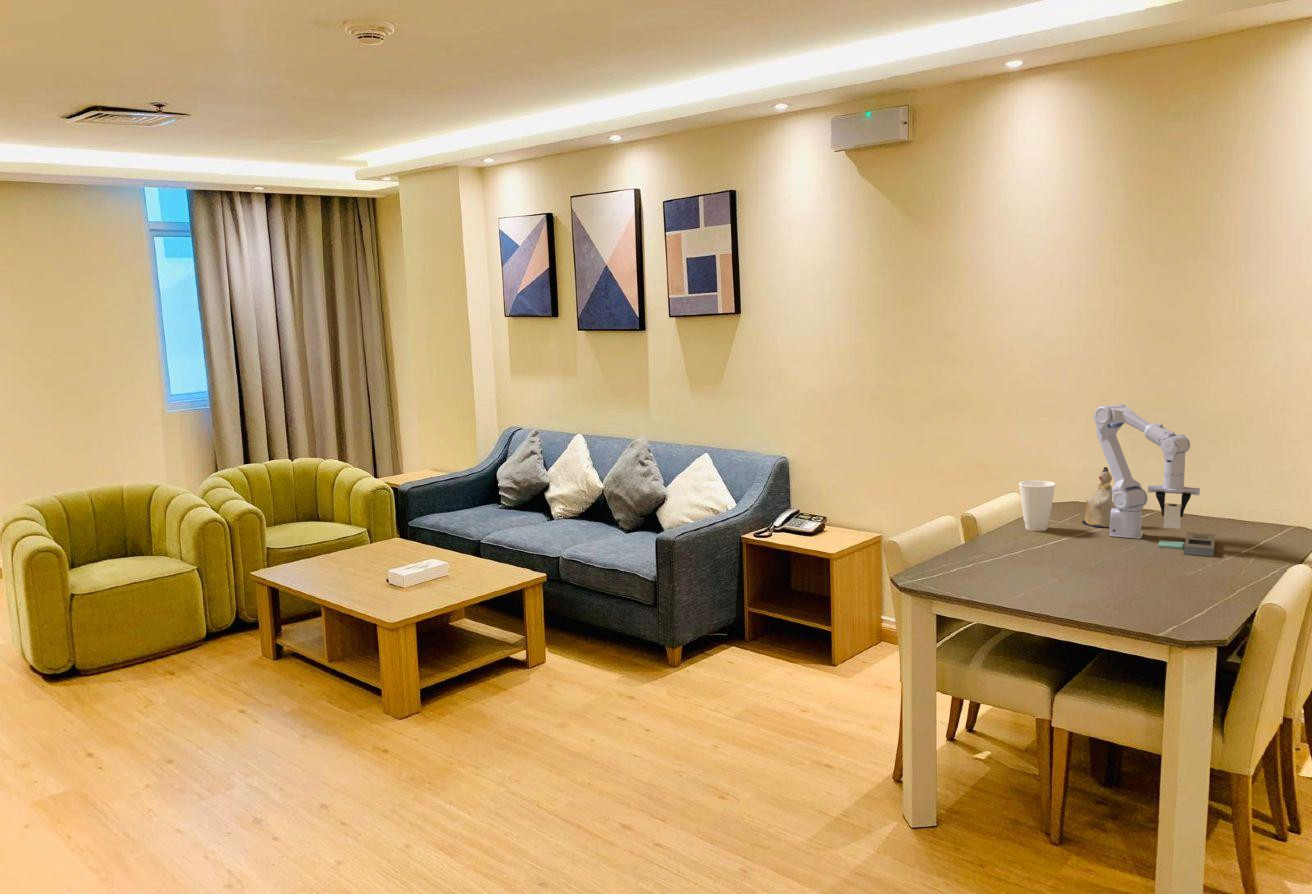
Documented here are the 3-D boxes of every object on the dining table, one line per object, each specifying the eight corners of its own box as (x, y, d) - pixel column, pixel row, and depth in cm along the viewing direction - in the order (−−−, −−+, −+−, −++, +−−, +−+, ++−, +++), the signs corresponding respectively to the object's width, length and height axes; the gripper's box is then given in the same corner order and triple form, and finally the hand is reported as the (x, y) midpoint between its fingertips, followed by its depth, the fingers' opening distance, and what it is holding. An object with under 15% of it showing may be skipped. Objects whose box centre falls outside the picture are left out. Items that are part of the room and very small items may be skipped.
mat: (1158, 547, 317) (1158, 545, 317) (1159, 541, 323) (1159, 540, 323) (1182, 549, 313) (1183, 547, 313) (1184, 544, 319) (1184, 542, 319)
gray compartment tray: (1183, 554, 307) (1184, 546, 307) (1186, 539, 325) (1187, 531, 324) (1213, 556, 303) (1213, 548, 303) (1215, 541, 321) (1215, 533, 320)
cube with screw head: (1163, 527, 316) (1164, 505, 315) (1164, 524, 320) (1165, 502, 319) (1179, 528, 314) (1180, 506, 313) (1180, 525, 318) (1181, 503, 317)
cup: (1010, 527, 349) (1011, 482, 346) (1035, 523, 354) (1036, 478, 351) (1036, 534, 338) (1037, 487, 336) (1062, 529, 343) (1063, 484, 340)
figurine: (1076, 522, 353) (1078, 466, 350) (1101, 519, 356) (1103, 464, 353) (1100, 529, 342) (1102, 471, 339) (1125, 526, 345) (1127, 469, 342)
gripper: (1147, 474, 315) (1145, 516, 317) (1200, 477, 307) (1197, 520, 310) (1149, 470, 321) (1147, 512, 323) (1200, 473, 314) (1198, 515, 316)
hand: (1172, 515), depth 317 cm, fingers closed on cube with screw head, 4 cm apart
